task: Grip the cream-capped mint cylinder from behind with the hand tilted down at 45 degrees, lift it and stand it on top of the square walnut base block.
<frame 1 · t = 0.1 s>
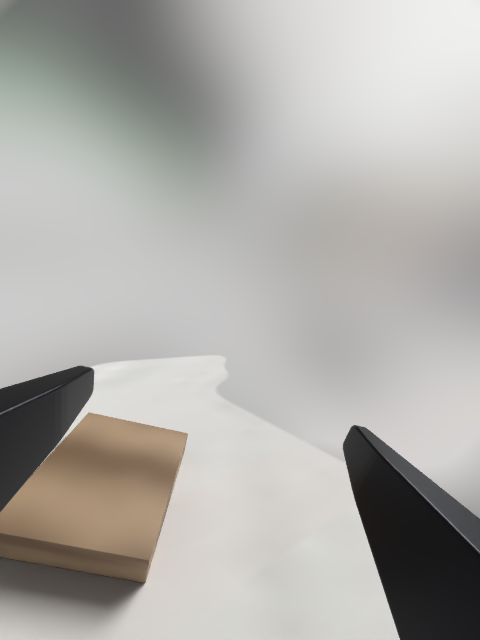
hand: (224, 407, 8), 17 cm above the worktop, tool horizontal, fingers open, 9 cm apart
base: (110, 490, 20), on the worktop
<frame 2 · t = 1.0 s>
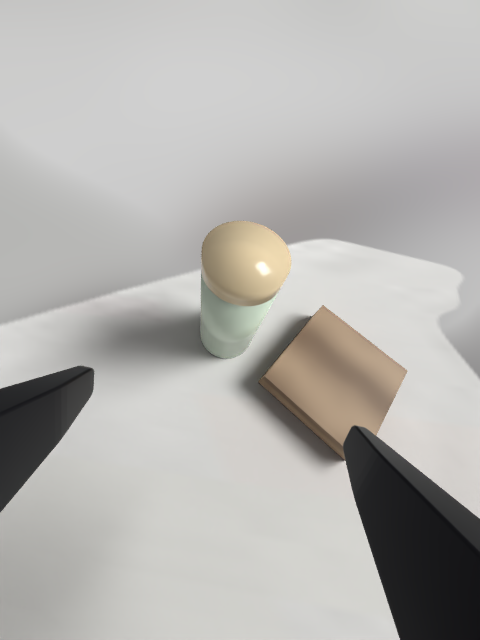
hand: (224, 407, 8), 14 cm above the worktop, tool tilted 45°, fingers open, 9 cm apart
cream-capped mint cylinder: (226, 333, 24), on the worktop
base: (326, 379, 24), on the worktop
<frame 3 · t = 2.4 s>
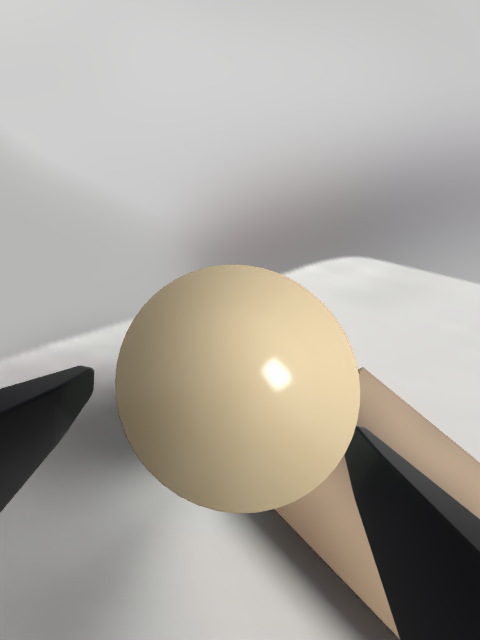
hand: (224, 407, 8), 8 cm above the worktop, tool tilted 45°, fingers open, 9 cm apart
cream-capped mint cylinder: (214, 411, 16), on the worktop
base: (370, 485, 15), on the worktop
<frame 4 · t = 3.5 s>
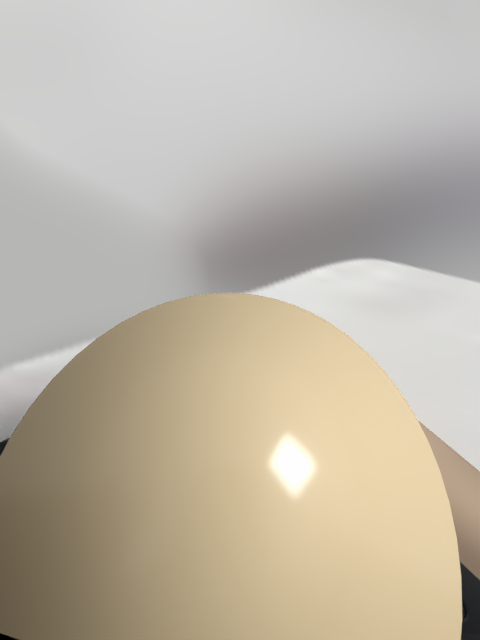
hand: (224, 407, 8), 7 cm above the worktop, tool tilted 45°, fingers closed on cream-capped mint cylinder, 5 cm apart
cream-capped mint cylinder: (208, 444, 13), on the worktop, touching gripper
base: (392, 533, 13), on the worktop
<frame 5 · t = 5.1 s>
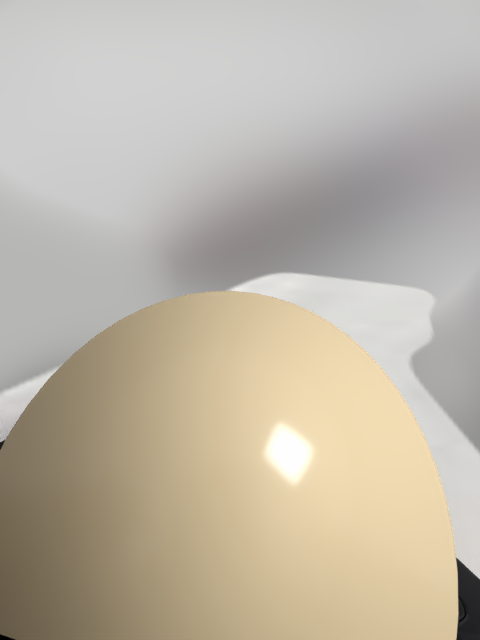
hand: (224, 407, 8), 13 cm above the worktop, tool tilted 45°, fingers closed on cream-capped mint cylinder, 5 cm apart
cream-capped mint cylinder: (207, 443, 13), point 7 cm above the worktop, touching gripper
when the fingers open (10 cm above the worktop, at t = 6.7 s): cream-capped mint cylinder drops 1 cm, resting on base.
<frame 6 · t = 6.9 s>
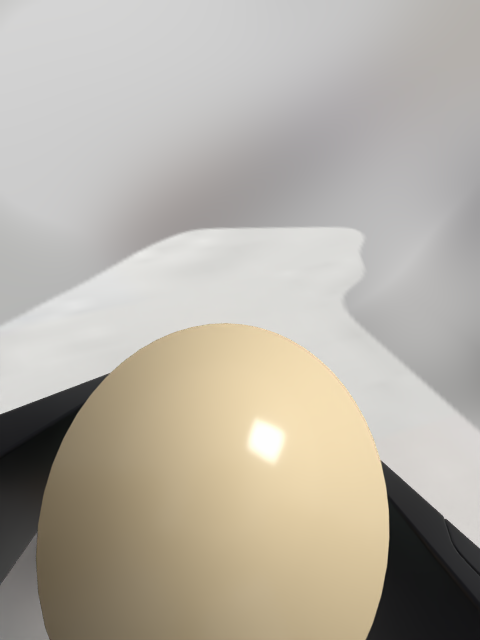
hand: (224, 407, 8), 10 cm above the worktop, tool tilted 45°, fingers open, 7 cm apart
cream-capped mint cylinder: (207, 444, 14), point 3 cm above the worktop, touching base
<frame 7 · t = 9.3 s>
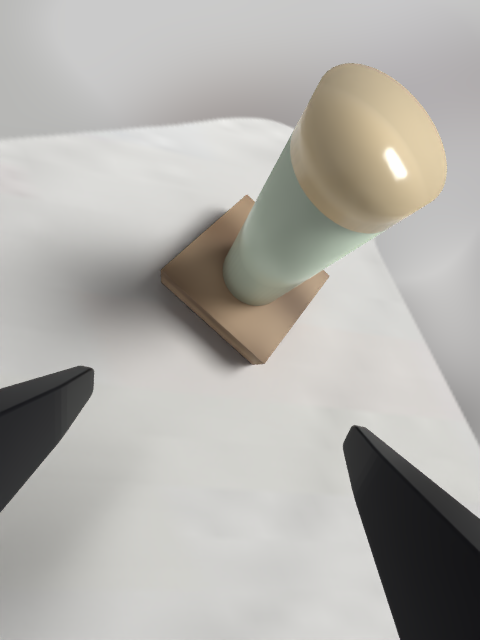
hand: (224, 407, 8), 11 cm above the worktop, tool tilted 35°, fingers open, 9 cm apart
cream-capped mint cylinder: (254, 273, 19), point 3 cm above the worktop, touching base
base: (244, 284, 21), on the worktop
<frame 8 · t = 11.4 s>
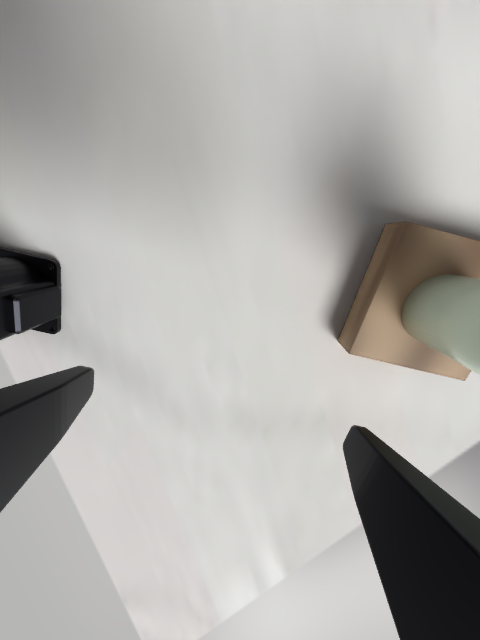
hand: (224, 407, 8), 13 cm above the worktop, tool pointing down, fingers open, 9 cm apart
cream-capped mint cylinder: (438, 309, 18), point 3 cm above the worktop, touching base
base: (415, 301, 20), on the worktop
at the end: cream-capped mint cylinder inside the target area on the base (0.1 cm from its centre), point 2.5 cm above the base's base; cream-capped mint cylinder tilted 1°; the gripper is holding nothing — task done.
